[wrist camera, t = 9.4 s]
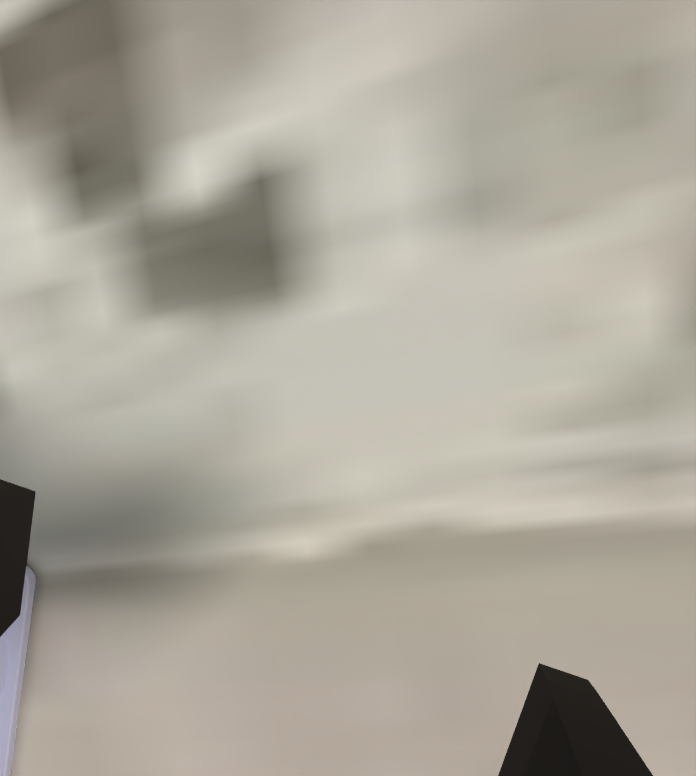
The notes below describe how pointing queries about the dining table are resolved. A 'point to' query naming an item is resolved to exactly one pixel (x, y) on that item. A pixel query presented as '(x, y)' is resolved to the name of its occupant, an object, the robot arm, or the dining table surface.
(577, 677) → the robot arm
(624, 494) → the dining table surface
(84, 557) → the dining table surface
